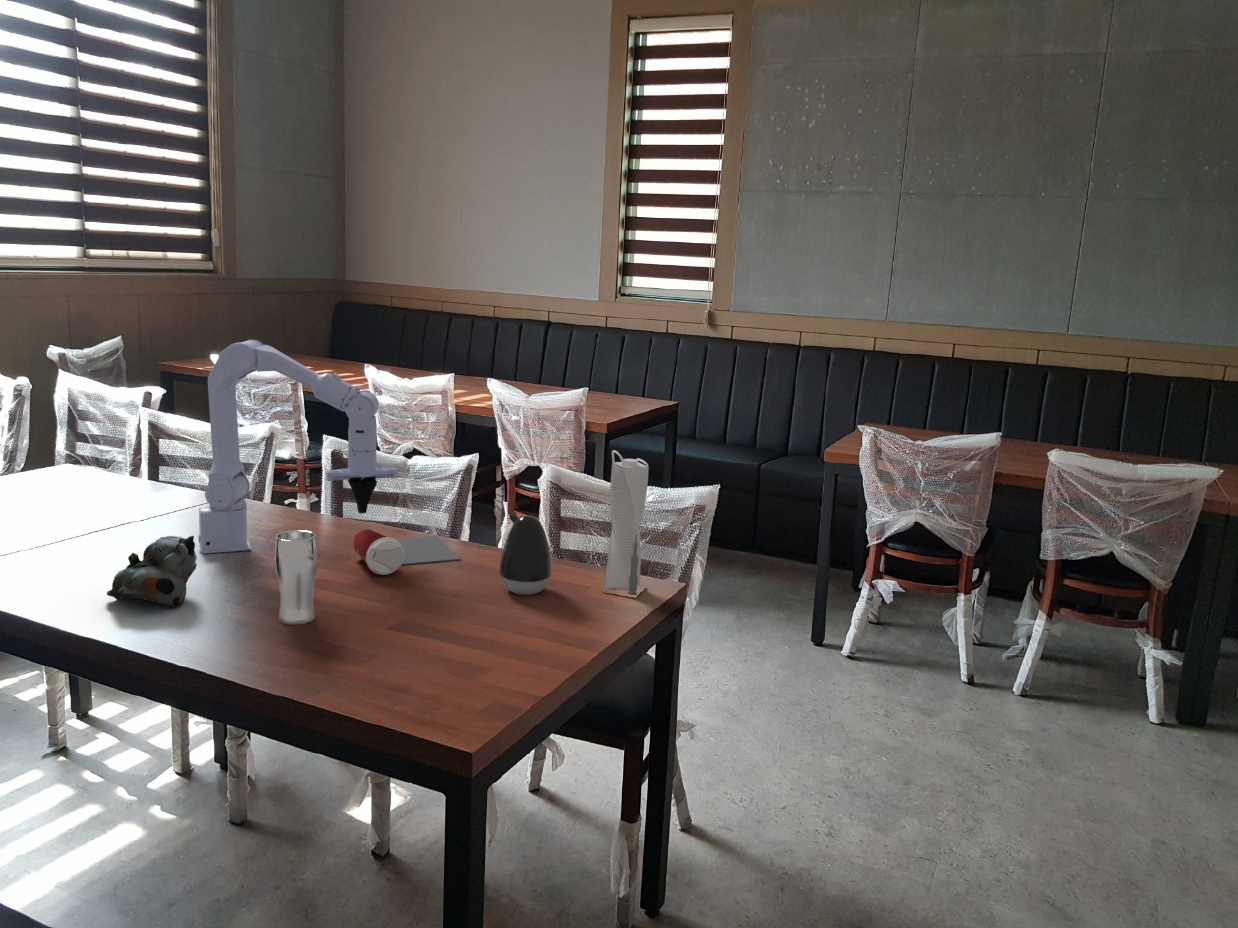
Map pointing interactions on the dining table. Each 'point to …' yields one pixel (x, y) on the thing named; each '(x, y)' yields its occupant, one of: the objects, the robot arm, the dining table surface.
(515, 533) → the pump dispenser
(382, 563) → the paper cup
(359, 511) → the robot arm
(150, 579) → the lucky cat figurine
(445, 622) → the dining table surface
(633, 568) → the skyscraper
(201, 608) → the dining table surface
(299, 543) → the beer glass
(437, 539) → the mat
